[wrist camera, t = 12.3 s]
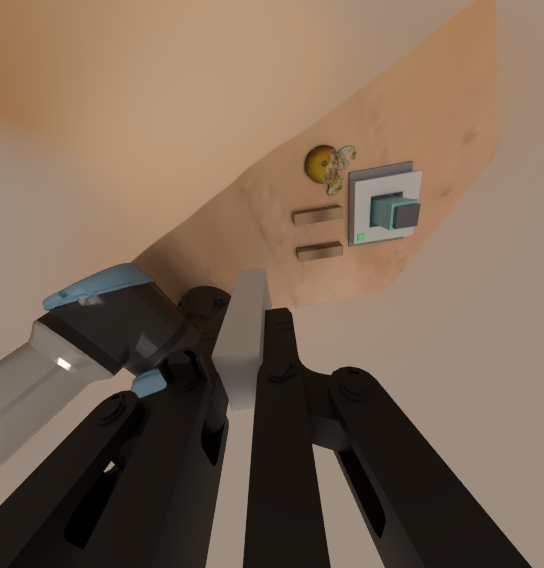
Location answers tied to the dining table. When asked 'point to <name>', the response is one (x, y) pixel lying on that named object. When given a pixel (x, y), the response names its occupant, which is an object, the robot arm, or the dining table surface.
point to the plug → (394, 212)
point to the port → (378, 184)
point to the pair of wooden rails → (314, 217)
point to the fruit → (327, 165)
